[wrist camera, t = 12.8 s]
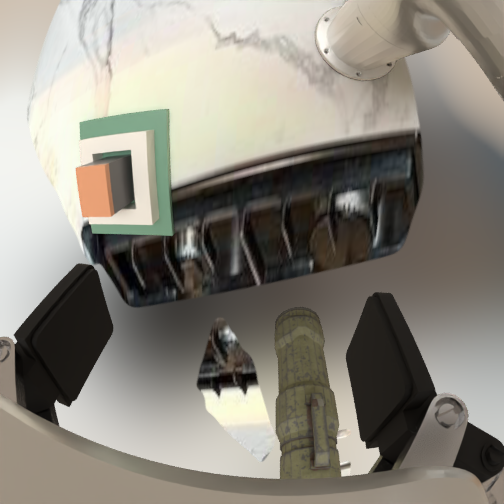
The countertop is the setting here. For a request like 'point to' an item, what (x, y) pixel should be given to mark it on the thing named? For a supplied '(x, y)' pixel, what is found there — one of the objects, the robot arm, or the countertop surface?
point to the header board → (160, 162)
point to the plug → (105, 185)
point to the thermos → (304, 399)
